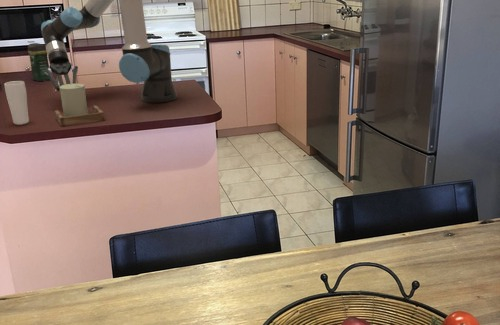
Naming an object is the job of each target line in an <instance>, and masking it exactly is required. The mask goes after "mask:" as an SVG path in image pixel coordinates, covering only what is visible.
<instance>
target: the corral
mask: <svg viewBox="0 0 500 325" xmlns="http://www.w3.org/2000/svg"><path fill="white" fill-rule="evenodd" d="M92 110H93V112H92V113H88V114H84V115H77V116H70V117H63V115H62V114H61V112H60V110H59V109H56V110H54V117H55V119H56V121H57V122H58V124H59V125H60V127H61V128H62V127H69V126H70V127H71V126H75V125H83V124H84V125H85V124H90V123H97V122H103V121H106V120H105V119H106V118H105V113H104V111H103V110H102V109H100V107H98V105H96V104H95V105H92Z"/></svg>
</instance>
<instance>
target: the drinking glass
mask: <svg viewBox="0 0 500 325" xmlns="http://www.w3.org/2000/svg"><path fill="white" fill-rule="evenodd" d="M3 86H4V91H5V94H6V95H5V97H6V99H7V102H8V107H9V110H10V113H11V114H10V115H11V117H12V122H13V124H14V125H19V126H20V125H21V126H22V125H25V124H28V123H29V122H30V118H29V110H28V97H27V88H26V83H25V81H24V80H15V81H14V80H13V81H11V80H10V81H7V82H5V83H4V84H3Z"/></svg>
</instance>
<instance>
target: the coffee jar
mask: <svg viewBox="0 0 500 325" xmlns="http://www.w3.org/2000/svg"><path fill="white" fill-rule="evenodd" d="M27 52H28V56H29V62H30V69H31V76H32V80H34V81H37V82H46V81H49V80H50V78H49V77H48V76H47V75H46V74H45V69H48V68H50V67H49V66H50V63H49V59H48V55H47V51H46V46H45V43H44V44H43V43H38V42H33V43H29V44H28V45H27ZM50 81H51V80H50Z"/></svg>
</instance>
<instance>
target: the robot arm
mask: <svg viewBox="0 0 500 325" xmlns="http://www.w3.org/2000/svg"><path fill="white" fill-rule="evenodd" d="M114 1H115V0H88V1H86V3H85V4H84V5H83V6H82V8H81V9H80V10H79V9H77V8H75V7H73V6H69V7H66V8H65V9H64V10H63V11H62V12H61V13H60V14H59V15H58V16H57V17H56V18H55V19H48V20H46V21H43V22H42V23H41V26H40V30H41V36H42V38H43V42H44V45H45V46H46V51H47V57H48V63H49V68H48V69H45V74H46V75H47V76H48V77H49V78H50V83H51V84H52V85H53V87H54V90H55V91H56V92H60V88H59V87H60V86H62V85H66V84H77V73H78V71H79V70H78V68H79V67H78V65H75V66H74V65H72V63H71V62H70V59H69V56H68V52H67V48H66V45H65V41H64V39H65V38H66V37H68V36H69V35H70V34H71V33H72V32H74V31H78V30H80V31H81V30H85V29H92V28H94V27H97V26H98V25H99V24H100V22H101V16H102V15H103V14H104V13H105V11H106V10H107V9H108V8H109V6H111V5H112V4H113V2H114ZM118 2H119V9H120V16H121V22H122V23H121V25H122V29H123V30H122V31H123V36H124V45H123V46H122V47H121V52H122V56H121V58H120V59H119V61H118V68H119V72H120V74H121V75H122V77H123V78H124V79H126V80H127V81H128V82H130V83H134V84H135V83H137V84H138V83H142V82H143V85H142V90H141V93H140V99H141V101H142V102H143V103H149V104H150V103H151V104H152V103H154V104H155V103H156V104H158V103H159V104H160V103H167V102H169V103H170V102H172V101H175V100H177V98H178V94H177V90H176V87H175V85H174V83H173V79H172V66H171V65H172V64H171V52H170V51H171V50H170V46H169V45H167V44H151V43H150V42H149V40H148V36H147V28H146V27H147V26H146V20H145V13H144V5H143V4H144V3H143V0H118ZM70 71H71V72H72V83H71V79H70V77H69V76H70V75H69V73H70ZM53 73H54V74H55V75H56V76H57V78H58V81H57V80H56V78H55V76H54V74H53ZM63 77H64V79H63ZM64 80H65V82H64Z"/></svg>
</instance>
